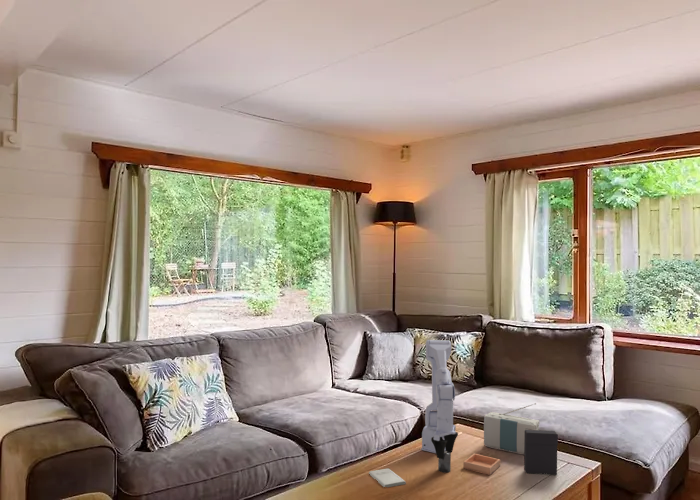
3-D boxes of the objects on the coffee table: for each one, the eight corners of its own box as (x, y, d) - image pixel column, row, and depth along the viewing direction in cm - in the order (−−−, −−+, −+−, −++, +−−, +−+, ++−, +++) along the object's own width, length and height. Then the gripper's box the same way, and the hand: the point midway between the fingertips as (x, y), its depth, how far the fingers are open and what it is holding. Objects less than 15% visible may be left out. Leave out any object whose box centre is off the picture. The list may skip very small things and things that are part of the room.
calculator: (554, 471, 200) (554, 430, 200) (557, 476, 196) (558, 434, 196) (523, 469, 202) (523, 428, 202) (526, 474, 197) (526, 432, 197)
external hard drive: (384, 489, 184) (368, 475, 196) (405, 485, 188) (389, 472, 199) (384, 484, 184) (368, 471, 196) (406, 481, 188) (389, 467, 199)
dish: (463, 468, 202) (463, 461, 202) (474, 460, 210) (474, 453, 210) (490, 475, 196) (490, 468, 196) (500, 466, 204) (500, 459, 204)
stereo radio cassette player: (482, 447, 224) (483, 398, 224) (490, 442, 231) (490, 394, 231) (534, 459, 212) (535, 407, 212) (540, 453, 219) (541, 403, 219)
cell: (436, 470, 199) (436, 451, 199) (441, 467, 203) (441, 447, 203) (447, 473, 197) (447, 454, 197) (452, 469, 200) (452, 450, 200)
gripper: (446, 424, 192) (446, 463, 192) (463, 415, 204) (462, 451, 203) (428, 420, 196) (428, 459, 196) (445, 411, 208) (445, 447, 207)
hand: (444, 455), depth 200 cm, fingers open, 7 cm apart
